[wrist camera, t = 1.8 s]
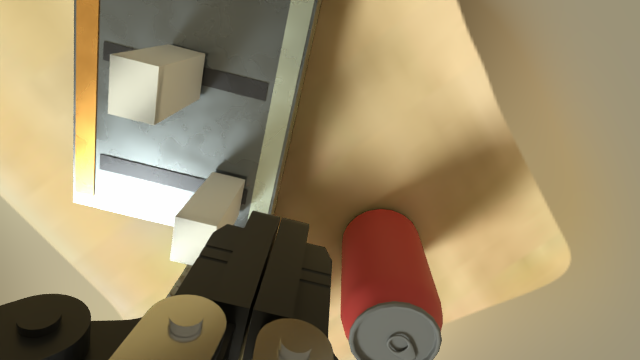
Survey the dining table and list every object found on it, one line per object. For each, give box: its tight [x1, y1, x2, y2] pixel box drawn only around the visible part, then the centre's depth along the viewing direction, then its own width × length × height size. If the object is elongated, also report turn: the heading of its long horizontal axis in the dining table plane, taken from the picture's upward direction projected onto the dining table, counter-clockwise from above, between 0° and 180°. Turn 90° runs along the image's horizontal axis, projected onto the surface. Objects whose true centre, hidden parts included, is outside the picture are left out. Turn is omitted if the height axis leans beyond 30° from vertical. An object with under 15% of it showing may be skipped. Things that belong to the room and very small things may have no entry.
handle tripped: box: [108, 44, 205, 125], centre depth 23 cm, size 2×3×7 cm
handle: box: [170, 172, 245, 266], centre depth 27 cm, size 2×3×7 cm
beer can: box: [341, 209, 443, 360], centre depth 30 cm, size 7×7×12 cm
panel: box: [73, 0, 322, 228], centre depth 29 cm, size 15×24×4 cm, turn 166°
